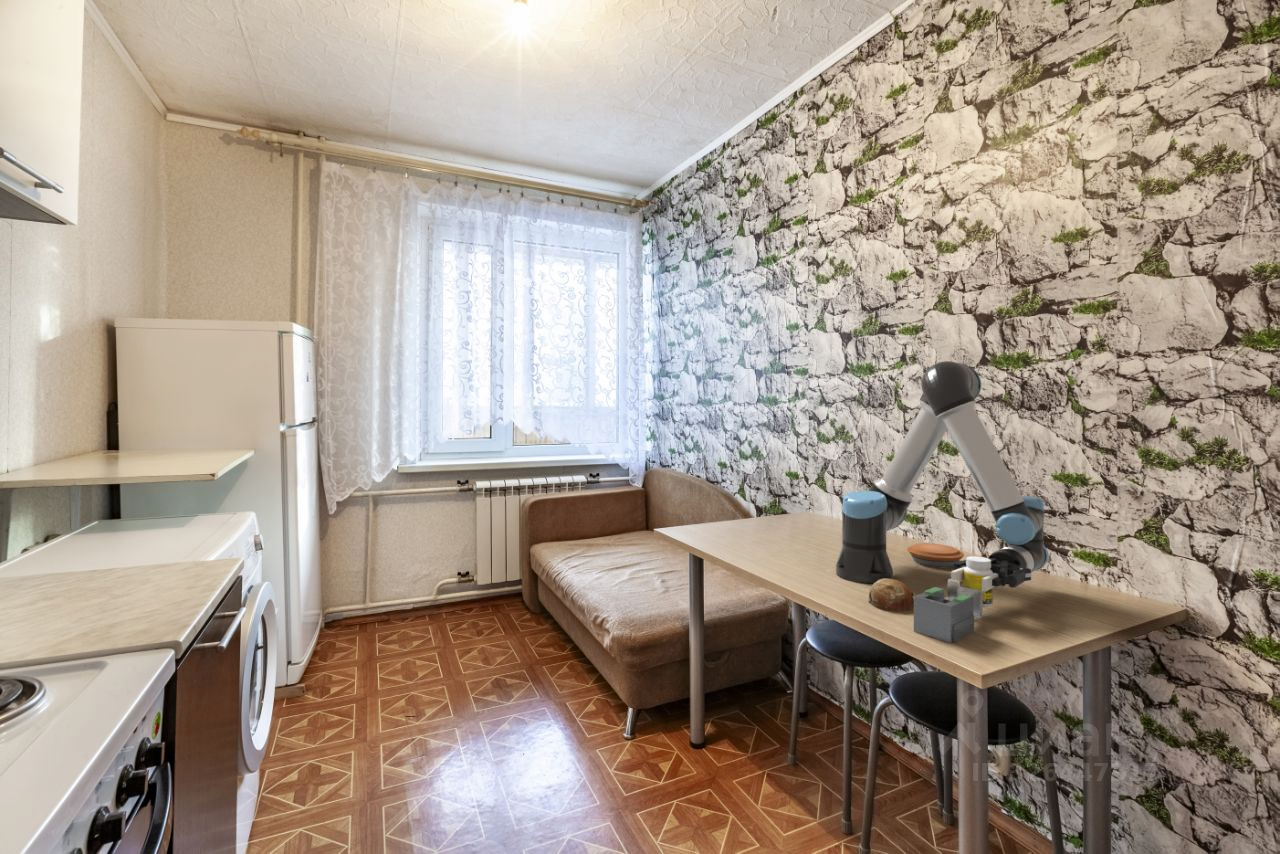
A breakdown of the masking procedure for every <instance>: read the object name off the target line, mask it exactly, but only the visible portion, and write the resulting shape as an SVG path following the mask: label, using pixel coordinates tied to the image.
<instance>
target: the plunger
mask: <svg viewBox="0 0 1280 854" xmlns="http://www.w3.org/2000/svg"><path fill="white" fill-rule="evenodd" d="M963 594H965V595H969V596H973V597H974V600H973V615H974V618H979V619H982V618H983V608H984V607H983V591H982V590H979V589H975V588H971V587H967V586H964V584H963V585H962V584H960V581H958V580H953V579H951V578H948V579H947V597H944V599H943V603H948V602H950V601H952V600H953V599H954V598H956V597H958V596H960V595H963Z"/></svg>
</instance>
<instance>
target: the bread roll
mask: <svg viewBox="0 0 1280 854" xmlns="http://www.w3.org/2000/svg"><path fill="white" fill-rule="evenodd" d="M914 596H915V594H914V592H912V591H911V590H910V589H909V587H908V585H906V584H904V583H903V582H901V581H900V580H897V579H894V578H893V579H887V578H885V579H881V580H878V581H876V582H875V583H872V585H871V587H870V588H869V594H868V599H867V602H868V603H870V604H871V603H872V604H871V605H872V606H874V605H875V607H876V608H879V609H880V608H882V609H881V610H884V609H885V610H886V611H891V610H893V611H894V612H898V610H901V611H909V610H911V608H913V607H914ZM908 609H909V610H908Z"/></svg>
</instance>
